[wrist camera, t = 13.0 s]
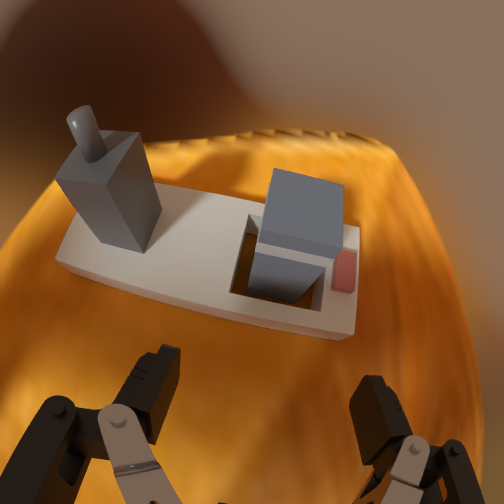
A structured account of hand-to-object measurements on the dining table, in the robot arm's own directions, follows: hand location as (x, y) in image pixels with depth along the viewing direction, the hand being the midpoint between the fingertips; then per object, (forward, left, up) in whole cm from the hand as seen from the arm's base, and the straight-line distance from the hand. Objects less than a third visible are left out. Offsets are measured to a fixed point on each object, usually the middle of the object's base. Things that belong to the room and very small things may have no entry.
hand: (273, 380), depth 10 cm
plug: (0, +8, -9) cm, 13 cm away
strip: (-6, +8, -9) cm, 14 cm away
